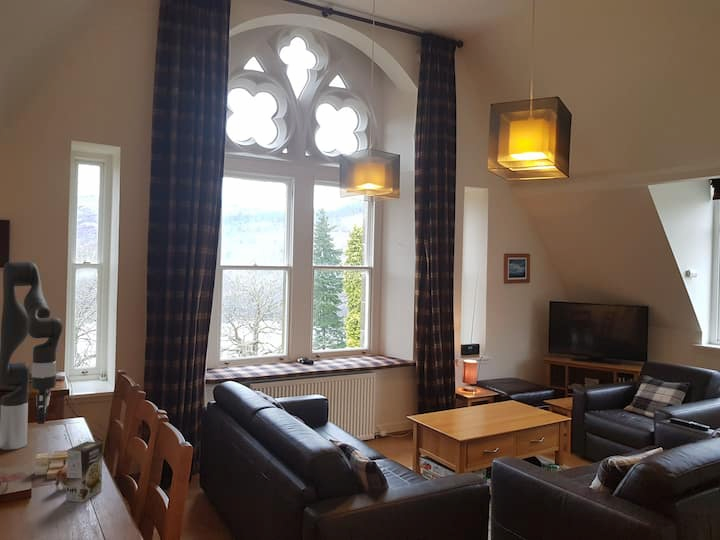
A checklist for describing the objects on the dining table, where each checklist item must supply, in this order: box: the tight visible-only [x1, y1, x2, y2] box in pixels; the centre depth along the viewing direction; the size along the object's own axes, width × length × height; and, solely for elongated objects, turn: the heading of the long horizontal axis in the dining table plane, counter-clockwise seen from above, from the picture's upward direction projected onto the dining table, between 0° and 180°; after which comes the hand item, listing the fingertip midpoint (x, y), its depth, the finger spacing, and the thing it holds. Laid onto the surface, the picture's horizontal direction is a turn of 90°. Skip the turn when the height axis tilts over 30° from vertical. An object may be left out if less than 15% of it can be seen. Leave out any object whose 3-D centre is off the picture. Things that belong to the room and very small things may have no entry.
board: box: [46, 449, 68, 480], centre depth 199 cm, size 24×6×2 cm, turn 24°
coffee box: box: [65, 441, 104, 503], centre depth 175 cm, size 9×6×16 cm
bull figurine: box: [54, 467, 67, 492], centre depth 183 cm, size 4×13×8 cm, turn 161°
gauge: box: [34, 453, 68, 476], centre depth 194 cm, size 4×10×6 cm, turn 114°
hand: (42, 420), depth 193 cm, fingers open, 8 cm apart
